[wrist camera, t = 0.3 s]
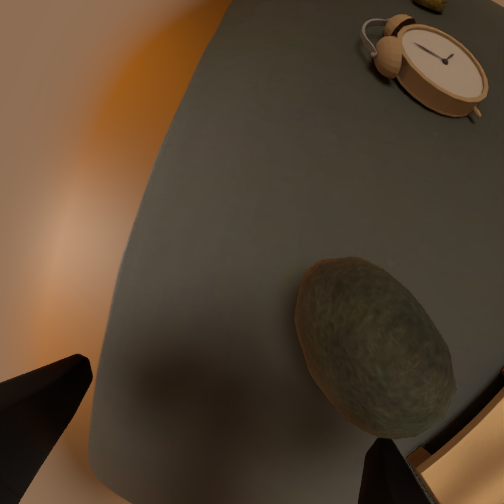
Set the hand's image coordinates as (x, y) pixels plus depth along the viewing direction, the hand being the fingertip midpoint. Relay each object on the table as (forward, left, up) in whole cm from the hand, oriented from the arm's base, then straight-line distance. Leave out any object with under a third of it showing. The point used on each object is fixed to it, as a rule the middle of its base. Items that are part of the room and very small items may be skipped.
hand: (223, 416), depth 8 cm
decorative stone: (0, -6, -15) cm, 16 cm away
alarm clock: (+22, -25, -15) cm, 36 cm away
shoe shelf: (-16, -17, -15) cm, 28 cm away
